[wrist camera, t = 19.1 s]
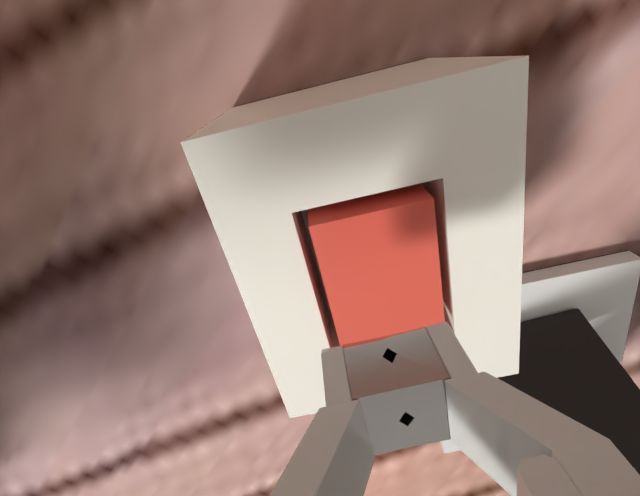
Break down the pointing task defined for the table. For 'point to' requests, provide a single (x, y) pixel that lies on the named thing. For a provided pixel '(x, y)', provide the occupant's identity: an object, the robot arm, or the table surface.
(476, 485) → the table surface
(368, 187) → the box
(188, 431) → the table surface
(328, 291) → the button
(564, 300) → the grey mat
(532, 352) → the phone stand
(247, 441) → the table surface
